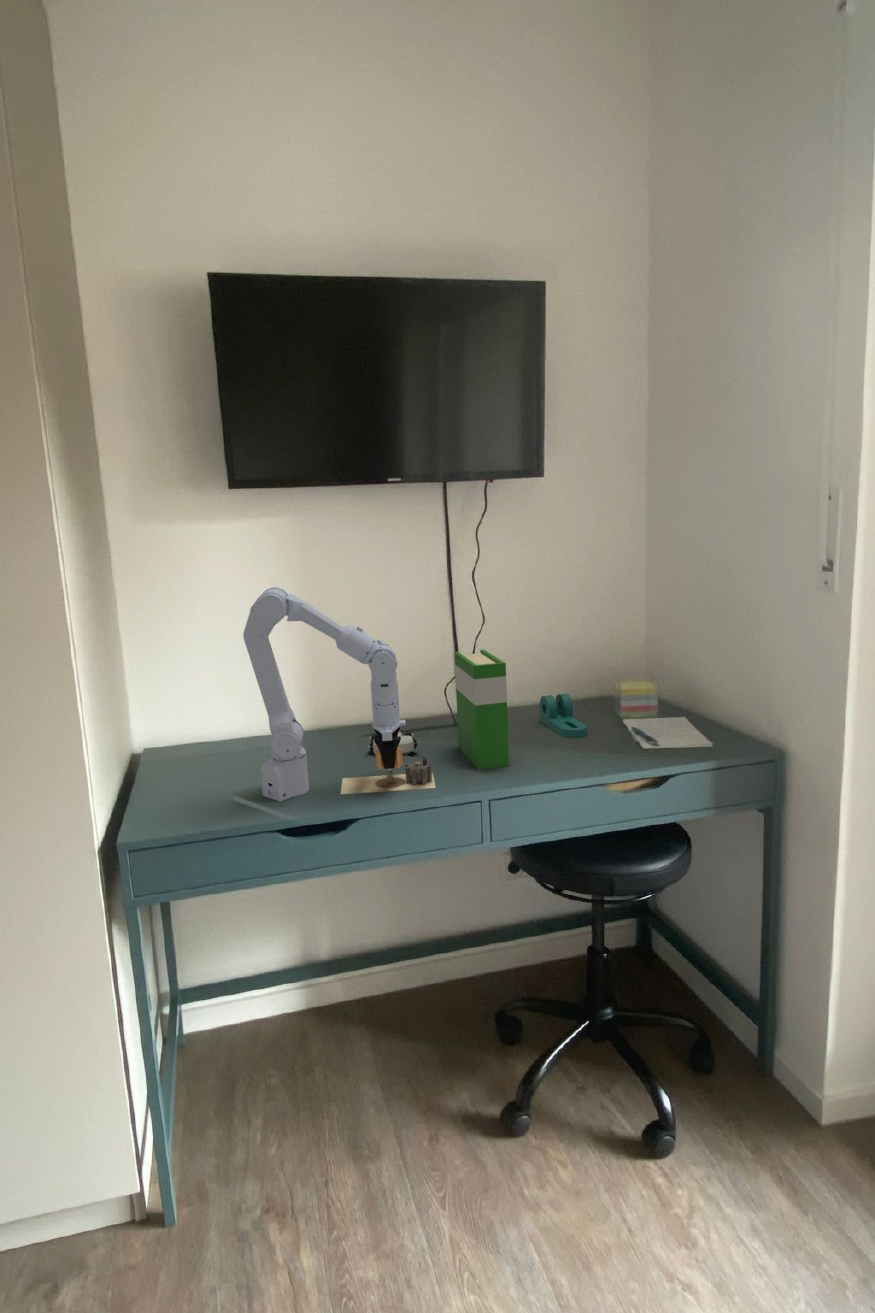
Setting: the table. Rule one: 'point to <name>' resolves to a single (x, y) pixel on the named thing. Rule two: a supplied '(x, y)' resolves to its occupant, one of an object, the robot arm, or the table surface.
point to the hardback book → (482, 709)
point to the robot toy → (405, 743)
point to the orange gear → (397, 763)
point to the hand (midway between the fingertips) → (389, 763)
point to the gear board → (392, 780)
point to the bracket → (561, 716)
